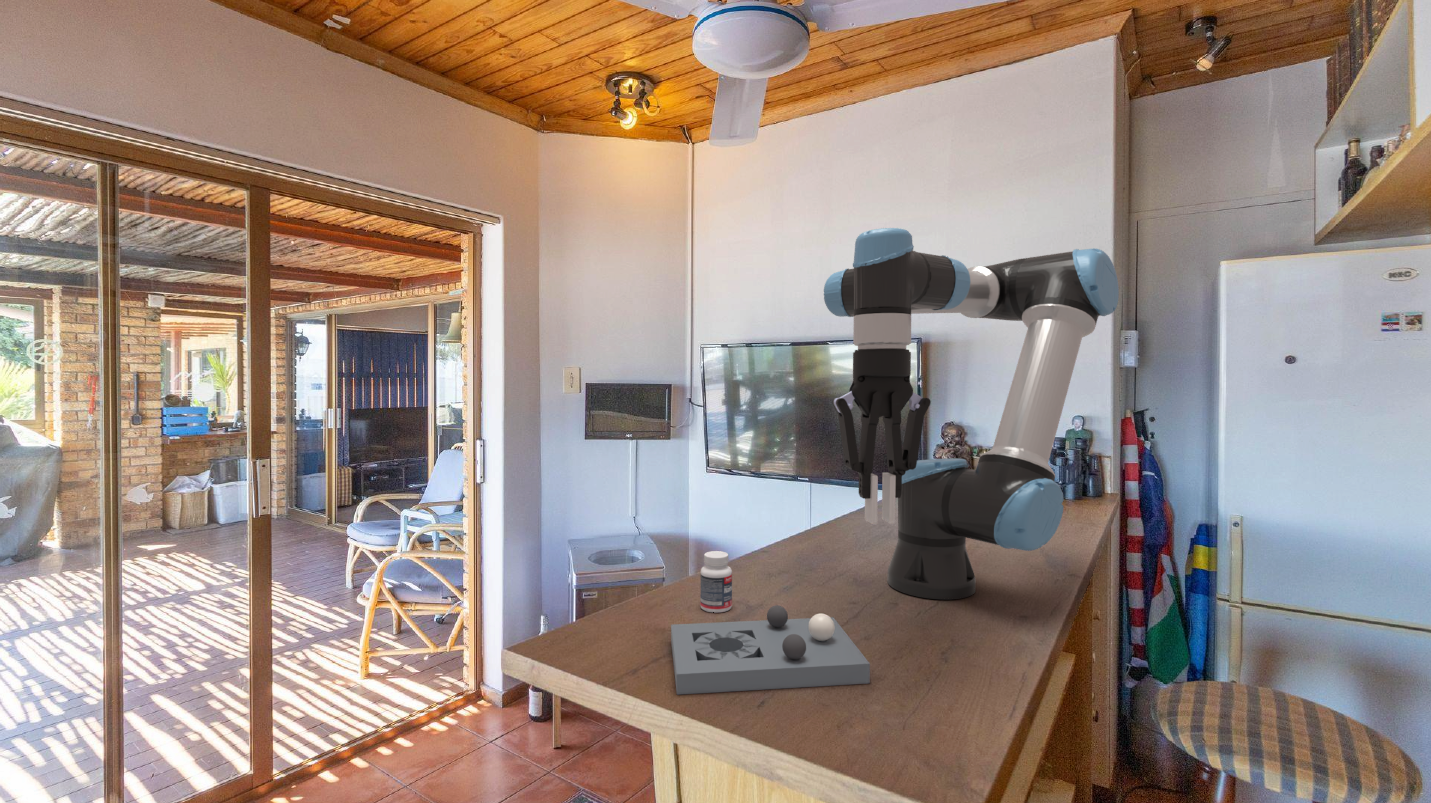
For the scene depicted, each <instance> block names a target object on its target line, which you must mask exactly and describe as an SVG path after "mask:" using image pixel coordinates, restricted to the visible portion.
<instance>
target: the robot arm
mask: <svg viewBox="0 0 1431 803" xmlns="http://www.w3.org/2000/svg"><path fill="white" fill-rule="evenodd" d="M854 242H855V244H854V254H853V263H852V268H845V269H842V270H840V271H837V272H833V273H832V274H830V276H829V277H828V278H827V279H826V281H825V283H824V287H823V300H824V301H823V302H824V303H825V306H826V308H827V310H828V311H829V312H830V313H831V314H832V315H834V316H836V317H841V318H842V317H848V318H853V335H852V336H853V345H854V346H856V347H857V349H854V352H852V383H851V385H850V387H849V392H847V393H846V394H844V395H841V396H840V397H834V398H832V399H831V400H832V401H831V403H832V406H833V408H834V410H835V412H836V413H837V417H838V425H839V430H840V439H841V446H842V451H843V460H844V466H845V467H846V468H848V469H849V470H851V471H854V472H857V474H858V495H859V497H860V498H862V499H864V521H866V522H868V523H869V524H871V525H878V507H879V506H878V500H879V499H878V496H879V495H878V494H879V492H878V491H879V490H878V489H879V488H878V486H879V483H878V482H879V481H878V480H879V479H878V478H879V477H878V475H877V474H875V473H873V468H874V458H875V451H876V450H875V448H876V439H877V438H876V437H877V429H878V428H877V427H878V425H879V421H880V418H881V417H882V421H883V424H884V432H885V435H884V436H885V448H886V458H887V459H886V460H887V469H888V472H881V473H882V476H881V477H882V484H881V485H882V489H881V490H882V492H881V501H882V502H881V520H883V521H884V522H886V523H887V524H889V525H895V524H896V499H897V506H898V507H897V542H896V545H895V549H894V551H893V554H892V557H891V559H890V562H889V564H888V567H887V584H888V585H889V586H890V587H891V588H892V589H894V590H896V591H897V592H901V593H903V594H905V595H909V596H914V597H917V598H924V599H929V600H945V601H946V600H959V599H965V598H968V597H970V596H972V595H973V594H975V592H976V584H977V582H976V576H975V572H974V569H973V567H972V563H971V559H970V556H969V554H968V551H967V547H966V544H967V542H966V541H967V540H966V539H970V540H975V541H980V542H983V543H988V544H991V545H996V546H999V547H1001V548H1003V549H1008V550H1010V549H1014V550H1020V551H1025V552H1027V551H1028V552H1030V551H1032V552H1033V551H1035V550H1038V549H1041V547H1043V546H1044V545H1046V544H1048V542H1050V540H1051V539H1052V538H1054V535H1055V534H1056V532H1057V530H1058V528H1059V526H1060V524H1061V521H1062V518H1063V513H1064V505H1063V502H1064V494H1063V490H1062V488H1061V486H1060V485H1059V483H1057V482H1056V481H1055V478H1056V474H1055V471H1053V470H1054V469H1052V466H1050V465H1049V460H1050V457H1051V454H1052V449H1053V445H1054V441H1055V438H1056V436H1057V431H1058V427H1059V424H1060V421H1061V416H1062V412H1063V409H1064V406H1065V403H1066V398H1067V394H1068V391H1069V387H1070V383H1071V380H1072V377H1073V373H1074V369H1075V364H1076V361H1077V358H1078V354H1079V350H1080V347H1081V344H1082V340H1083V338H1084V337H1087V336H1089V335H1091V334H1092V333H1093V332H1094V331H1095V329H1096V326H1097V322H1098V319H1099V317H1107V316H1108V315H1112V314H1113V313H1114V312H1115V311H1116V309H1117V307H1118V303H1119V296H1120V294H1119V293H1120V290H1119V288H1120V287H1119V281H1118V275H1117V271H1116V268H1115V266H1114V263H1113V261H1112V259H1111V258H1110V256H1109V255H1108V254H1107V253H1106V252H1105V251H1104V250H1102V249H1100V248H1085V249H1079V248H1075V249H1073V250H1072V251H1067V252H1060V253H1059V252H1058V253H1051V254H1045V255H1038V256H1030V257H1025V258H1018V259H1017V258H1016V259H1013V260H1008V261H1004V262H1000V263H996V264H990V265H985V266H982V265H981V266H980V265H979V266H978V265H977V266H971V267H969V268H968V267H967V266H966V265H965V264H964V263H963V262H962V261H960V260H958V259H956V258H955V259H954V258H952V257H949V256H946V255H936V254H931V253H925V252H918V251H916V250H914V247H915V246H914V244H913V235H912V234H911V233H910V231H908V230H907V229H906V228H905V229H904V228H898V227H885V228H884V227H883V228H882V227H881V228H875V229H871V230H866V231H863V232H861V233H860V234H859V235H857V237H856V239H855V241H854ZM958 313H959V314H961V315H963V316H965V317H967V318H971V319H990V320H991V319H992V320H1002V321H1009V322H1010V321H1012V322H1013V321H1015V322H1016V321H1017V322H1021V321H1022V323H1023V324H1024V325H1025V327H1027V330H1026V333H1025V337H1024V341H1023V344H1022V347H1021V350H1020V354H1019V358H1018V361H1017V364H1016V368H1015V371H1014V374H1013V378H1012V381H1011V384H1010V388H1009V391H1008V395H1007V398H1006V402H1005V405H1004V407H1003V408H1004V409H1003V412H1002V414H1001V417H1000V418H1001V419H1000V421H999V425H998V428H997V432H996V436H995V437H994V438H995V439H994V441H993V446H992V448H991V449H990V450H987V451H985V452H983V453H981V454H980V456H979V458H978V461H977V464H976V468H975V469H972V468H971V469H969V464H968V461H967V460H966V459H965V458H957V457H956V458H934V459H933V458H931V459H921V460H919V459H918V458H919V450H920V445H921V438H922V431H923V427H924V426H923V425H924V420H925V419H924V418H925V415H926V413H927V411H928V409H929V407H930V406H931V400H930V399H929V398H928V397H923V396H920V395H919V394H917V393H916V392H914V388H913V385H912V384H911V373H912V372H911V370H912V368H911V367H912V366H911V365H912V364H911V360H912V359H911V358H912V352H911V351H910V349H907V346H910V345H911V344H912V315H913V314H916V315H917V314H958ZM853 402H854V403H855V404H856V405H857V407H858V409H859V410H860V411H861V416H860V422H861V427H860V428H861V430H860V438H859V439H860V440H859V449H858V446H857V445H858V444H857V439H856V438H857V437H856V431H855V424H854V417H853V412H852V410H853V408H854V404H853ZM907 404H908V409H909V410H908V414H907V418H906V419H907V420H906V425H905V431H904V437H903V444H902V434H901V432H902V431H901V430H902V429H901V424H902V410H903V409H904V408H905V406H906V405H907Z"/></svg>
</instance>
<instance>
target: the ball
mask: <svg viewBox="0 0 1431 803" xmlns="http://www.w3.org/2000/svg"><path fill="white" fill-rule="evenodd" d="M830 617H831V616H830V615H827V614H825V613H816V614H814V615H812V617H810V618H811V619H810V621H809V626H808V627H809V632H810V634H811V635H812V637H813V638H815V639H816V640H819V641H826V640H828V639H830V638H831V637H832V635H833V634H834V630H835V626H834V622H833V620H832V619H831V618H830Z"/></svg>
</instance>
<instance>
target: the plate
mask: <svg viewBox="0 0 1431 803" xmlns="http://www.w3.org/2000/svg"><path fill="white" fill-rule="evenodd" d="M829 617H830V618H831V619H832V620H833V622H834V626H835V630H834V634H833V635H832V637H831V638H830V639H828V640H826V641H819V640H816V639H815V638H813V637H812V635H811V634H810V632H809V627H808V626H809V621H810V619H811V618H812V617H810V618H806V617H805V618H788V620H787V622H786V624H785V625H784V626H782V627H779V628H776V627H773V626H772V625H770V624H769V622H768V620H767V619H766V620H765V619H764V620H763V619H761V620H744V621H743V620H742V621H740V620H739V621H724V622H723V621H720V622H702V623H701V622H699V623H680V624H679V623H678V624H677V623H676V624H670V629H671V630H670V642H671V652H672V661H673V672H674V682H675V691H676V695H691V694H693V695H695V694H709V693H710V694H712V693H727V692H745V691H758V690H759V691H760V690H762V691H763V690H777V689H778V690H779V689H780V690H781V689H795V688H796V689H797V688H812V687H828V686H829V687H830V686H831V687H832V686H845V685H847V686H848V685H849V686H850V685H860V684H861V685H863V684H865V685H866V684H870V683H871V682H870V681H871V680H870V678H871V674H870V671H871V663H870V661H868V659H867V658H866V657H865V656H864V654H863V653H862V652H861V650H860V649H859V647H857V645H856V644H855V643H854V642H853V640H852V639H851V638H850V636H849V635H848V634H847V633H846V631H845V630H844V629H843V628H842V626H841V625H840V624H839V622H838V621H837V620H836V619H835V618H834V616H832V617H831V616H829ZM791 634H797V635H799V636H801V637H802V638H803V639H804V641H805V643H806V652H805V654H804V655H803V656H802V657H801V658H799V659H795V660H794V659H790V658H788V657H787V656H786V655H785V654H784V652H783V648H782V644H783V641H784V639H785V638H786V637H787V636H788V635H791Z"/></svg>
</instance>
